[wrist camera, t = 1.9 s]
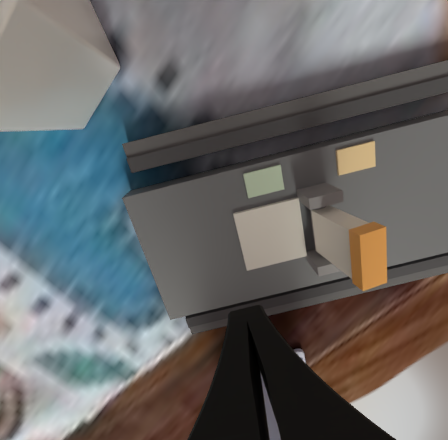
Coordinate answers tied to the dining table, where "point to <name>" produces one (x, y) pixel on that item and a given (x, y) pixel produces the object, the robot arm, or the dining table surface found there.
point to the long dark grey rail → (288, 117)
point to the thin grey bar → (320, 293)
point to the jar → (52, 64)
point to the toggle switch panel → (291, 214)
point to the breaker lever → (351, 245)
